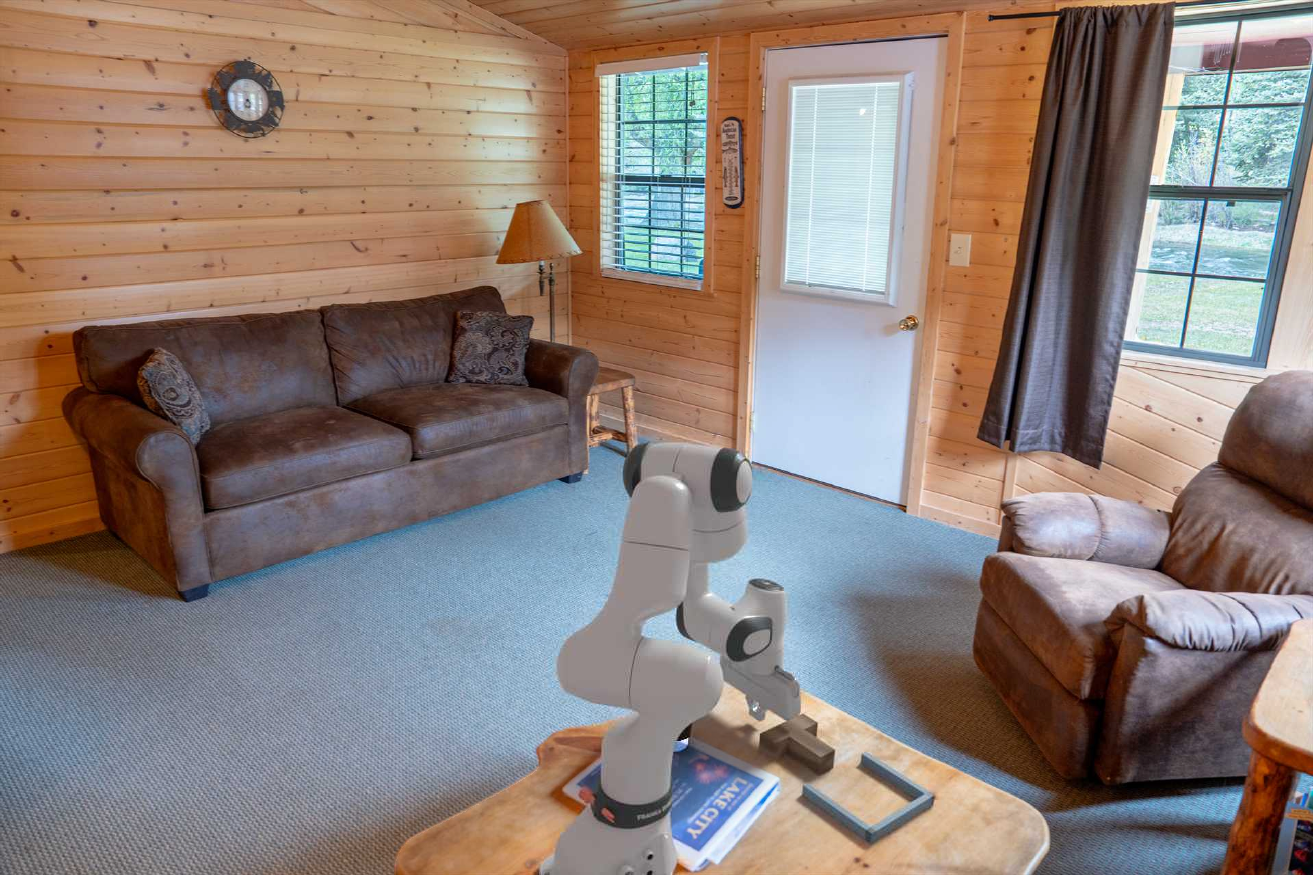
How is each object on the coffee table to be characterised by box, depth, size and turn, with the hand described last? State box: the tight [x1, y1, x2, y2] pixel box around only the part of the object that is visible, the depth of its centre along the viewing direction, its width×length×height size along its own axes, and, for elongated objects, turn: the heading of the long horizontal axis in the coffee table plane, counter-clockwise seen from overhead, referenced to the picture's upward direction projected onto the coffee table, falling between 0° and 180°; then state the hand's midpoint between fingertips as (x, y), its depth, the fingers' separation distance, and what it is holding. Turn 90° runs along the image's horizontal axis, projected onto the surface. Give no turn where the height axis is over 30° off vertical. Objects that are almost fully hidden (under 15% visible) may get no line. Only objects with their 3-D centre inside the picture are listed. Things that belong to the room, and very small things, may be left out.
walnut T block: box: [758, 713, 836, 776], centre depth 177 cm, size 12×12×4 cm
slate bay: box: [801, 751, 936, 845], centre depth 166 cm, size 17×16×2 cm
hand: (756, 717), depth 187 cm, fingers closed
